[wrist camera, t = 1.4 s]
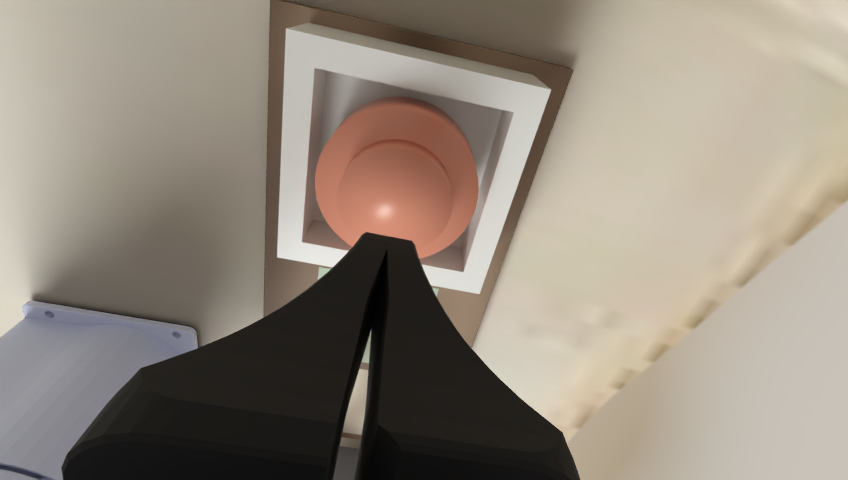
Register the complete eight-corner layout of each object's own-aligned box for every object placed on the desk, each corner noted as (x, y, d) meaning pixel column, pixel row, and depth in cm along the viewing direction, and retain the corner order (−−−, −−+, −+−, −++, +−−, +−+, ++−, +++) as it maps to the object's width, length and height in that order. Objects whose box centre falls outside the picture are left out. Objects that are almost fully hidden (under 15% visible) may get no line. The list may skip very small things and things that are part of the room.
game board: (262, 475, 33) (259, 483, 32) (275, -2, 16) (270, -2, 16) (413, 496, 34) (413, 504, 33) (568, 67, 17) (573, 70, 17)
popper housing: (296, 224, 21) (276, 257, 18) (309, 22, 16) (285, 28, 14) (473, 257, 21) (479, 294, 19) (533, 74, 17) (551, 89, 14)
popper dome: (320, 221, 18) (302, 259, 16) (334, 80, 15) (314, 98, 13) (453, 247, 19) (457, 287, 16) (492, 115, 16) (504, 139, 13)
